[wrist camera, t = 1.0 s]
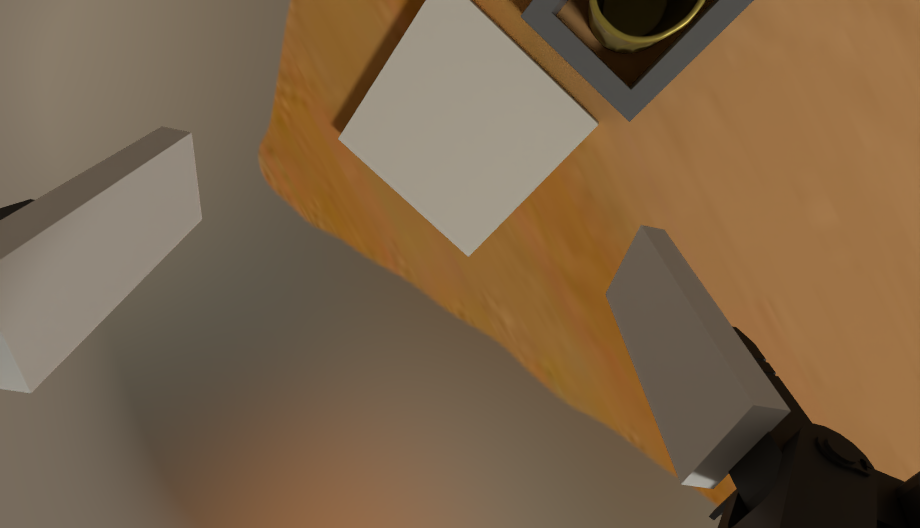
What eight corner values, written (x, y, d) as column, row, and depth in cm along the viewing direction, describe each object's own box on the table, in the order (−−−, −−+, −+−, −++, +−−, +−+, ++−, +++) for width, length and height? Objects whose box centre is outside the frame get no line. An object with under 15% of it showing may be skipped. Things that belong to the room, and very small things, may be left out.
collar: (640, -129, 29) (643, -147, 26) (755, -11, 30) (770, -16, 27) (527, 19, 34) (520, 16, 32) (627, 116, 35) (629, 121, 32)
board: (447, -24, 34) (442, -26, 33) (598, 122, 36) (598, 124, 35) (344, 136, 42) (338, 138, 41) (471, 251, 43) (468, 256, 42)
